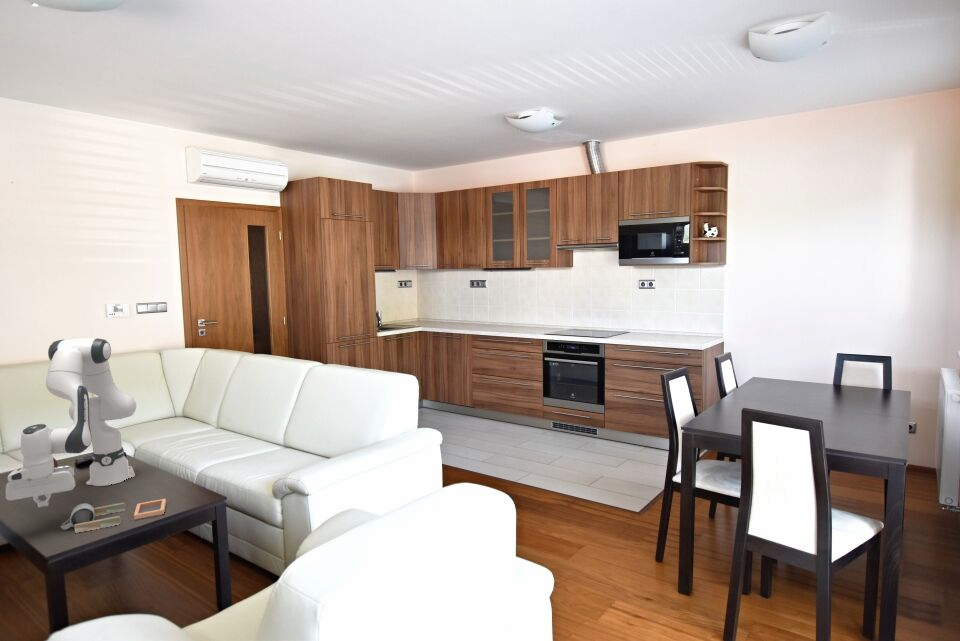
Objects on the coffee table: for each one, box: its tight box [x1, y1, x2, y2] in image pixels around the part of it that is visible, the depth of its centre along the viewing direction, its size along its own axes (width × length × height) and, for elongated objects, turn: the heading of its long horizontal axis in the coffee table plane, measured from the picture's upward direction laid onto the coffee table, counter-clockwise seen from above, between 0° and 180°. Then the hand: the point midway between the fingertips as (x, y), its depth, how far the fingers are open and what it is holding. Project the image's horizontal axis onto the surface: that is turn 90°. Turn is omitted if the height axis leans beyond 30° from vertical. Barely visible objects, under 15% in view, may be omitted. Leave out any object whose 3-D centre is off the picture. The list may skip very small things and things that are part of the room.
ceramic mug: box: [60, 502, 96, 531], centre depth 214 cm, size 11×8×8 cm
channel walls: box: [73, 502, 126, 534], centre depth 217 cm, size 15×14×3 cm
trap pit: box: [133, 498, 167, 521], centre depth 225 cm, size 12×10×2 cm
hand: (43, 506), depth 209 cm, fingers closed
